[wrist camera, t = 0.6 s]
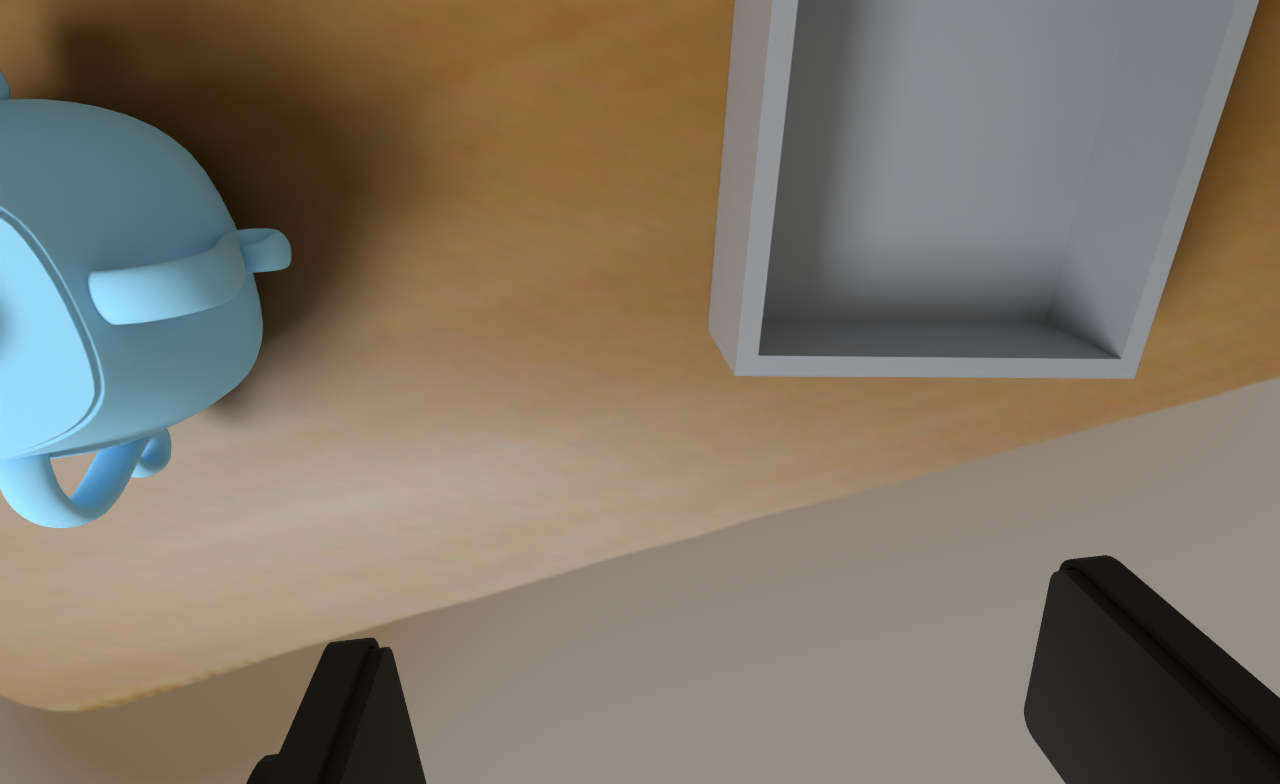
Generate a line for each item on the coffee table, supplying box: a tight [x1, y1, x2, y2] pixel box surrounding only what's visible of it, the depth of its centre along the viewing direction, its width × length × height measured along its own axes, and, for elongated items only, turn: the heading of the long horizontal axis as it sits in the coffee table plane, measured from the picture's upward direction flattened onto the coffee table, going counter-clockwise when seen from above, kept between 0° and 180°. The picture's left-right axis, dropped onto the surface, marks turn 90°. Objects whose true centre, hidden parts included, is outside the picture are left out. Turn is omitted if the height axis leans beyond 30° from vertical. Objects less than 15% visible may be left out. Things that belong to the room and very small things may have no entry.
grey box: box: [708, 0, 1259, 378], centre depth 33 cm, size 20×20×7 cm
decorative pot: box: [0, 71, 291, 528], centre depth 29 cm, size 16×16×14 cm
